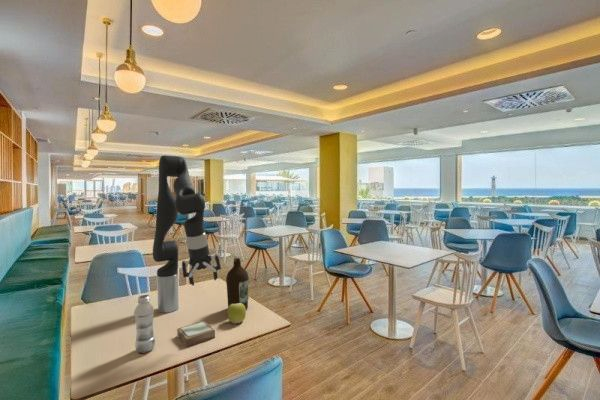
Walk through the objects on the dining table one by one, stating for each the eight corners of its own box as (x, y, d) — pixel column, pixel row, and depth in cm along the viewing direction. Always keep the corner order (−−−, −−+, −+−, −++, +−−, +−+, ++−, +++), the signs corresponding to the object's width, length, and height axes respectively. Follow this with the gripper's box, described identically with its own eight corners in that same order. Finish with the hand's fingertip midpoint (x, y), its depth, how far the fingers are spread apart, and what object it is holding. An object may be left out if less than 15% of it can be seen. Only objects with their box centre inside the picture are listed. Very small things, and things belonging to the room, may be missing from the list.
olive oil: (222, 310, 148) (221, 259, 147) (236, 303, 157) (235, 254, 156) (239, 315, 143) (238, 261, 142) (253, 307, 152) (252, 257, 151)
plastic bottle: (159, 347, 115) (158, 294, 114) (145, 356, 109) (143, 301, 108) (146, 344, 117) (144, 292, 116) (131, 353, 111) (129, 298, 110)
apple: (244, 324, 131) (237, 301, 131) (228, 328, 133) (221, 305, 133) (251, 316, 139) (244, 295, 139) (235, 320, 141) (229, 299, 141)
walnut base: (177, 336, 123) (177, 328, 123) (204, 327, 130) (203, 320, 130) (187, 347, 115) (186, 338, 115) (215, 337, 122) (214, 329, 122)
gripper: (215, 237, 125) (221, 273, 129) (178, 245, 121) (185, 282, 125) (217, 244, 118) (223, 282, 122) (177, 252, 114) (185, 291, 118)
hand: (204, 282), depth 124 cm, fingers open, 8 cm apart
